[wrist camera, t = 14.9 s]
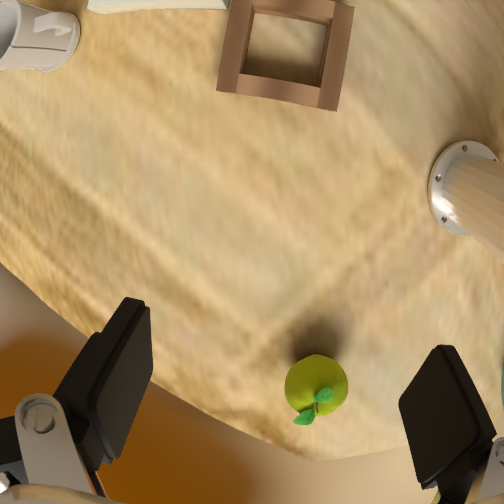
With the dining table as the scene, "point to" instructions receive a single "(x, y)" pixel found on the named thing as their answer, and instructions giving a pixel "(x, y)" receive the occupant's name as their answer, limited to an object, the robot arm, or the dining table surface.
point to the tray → (153, 5)
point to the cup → (35, 37)
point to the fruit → (315, 387)
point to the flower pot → (502, 387)
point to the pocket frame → (323, 96)
